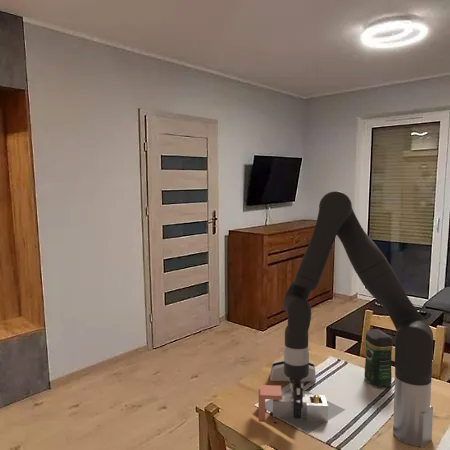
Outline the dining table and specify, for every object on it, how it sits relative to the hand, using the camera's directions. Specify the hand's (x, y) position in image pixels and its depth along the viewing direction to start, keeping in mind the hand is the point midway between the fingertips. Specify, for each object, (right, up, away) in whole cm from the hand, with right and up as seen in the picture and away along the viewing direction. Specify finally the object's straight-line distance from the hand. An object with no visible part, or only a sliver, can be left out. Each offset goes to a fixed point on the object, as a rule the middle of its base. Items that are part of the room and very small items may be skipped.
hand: (295, 409), depth 123 cm
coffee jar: (+33, 0, +22) cm, 40 cm away
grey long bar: (+1, -2, 0) cm, 2 cm away
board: (+3, -2, +4) cm, 5 cm away
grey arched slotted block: (+3, -1, +23) cm, 23 cm away
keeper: (-7, -2, +1) cm, 7 cm away
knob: (+6, -2, 0) cm, 7 cm away
